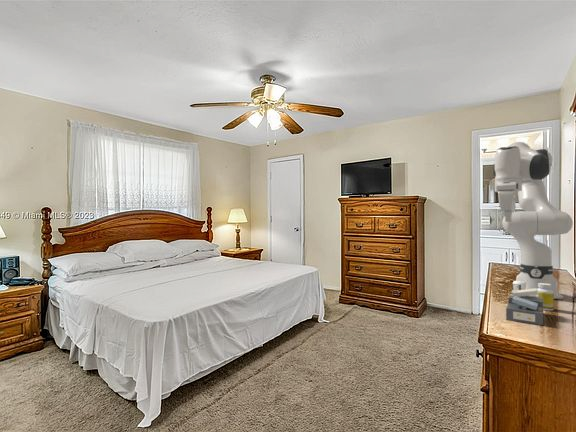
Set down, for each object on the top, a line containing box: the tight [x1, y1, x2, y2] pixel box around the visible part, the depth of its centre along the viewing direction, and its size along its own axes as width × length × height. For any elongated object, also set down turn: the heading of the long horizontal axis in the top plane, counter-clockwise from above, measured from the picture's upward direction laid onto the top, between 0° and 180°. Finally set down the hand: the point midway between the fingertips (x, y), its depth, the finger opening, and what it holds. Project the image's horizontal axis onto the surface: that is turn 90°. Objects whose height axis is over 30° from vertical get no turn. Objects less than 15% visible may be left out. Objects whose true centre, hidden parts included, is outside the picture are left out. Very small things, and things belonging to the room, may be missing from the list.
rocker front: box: [512, 296, 538, 310], centre depth 112 cm, size 6×7×1 cm
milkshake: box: [512, 280, 528, 291], centre depth 135 cm, size 5×5×10 cm
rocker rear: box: [513, 288, 538, 297], centre depth 119 cm, size 6×7×1 cm
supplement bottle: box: [536, 283, 555, 311], centre depth 126 cm, size 5×5×10 cm
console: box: [505, 292, 544, 327], centre depth 116 cm, size 18×10×7 cm, turn 141°
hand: (508, 221), depth 127 cm, fingers closed
